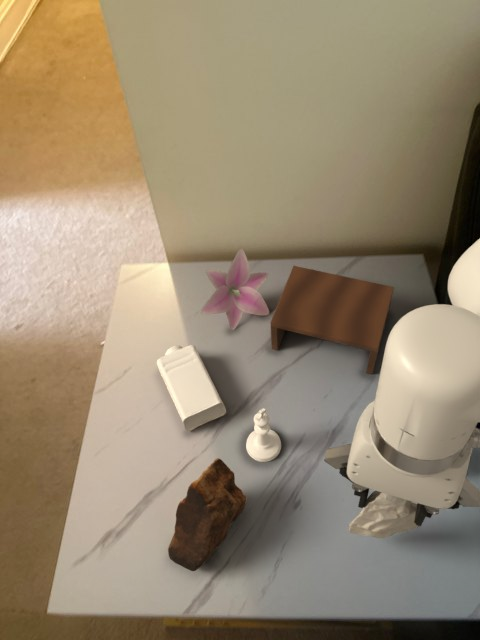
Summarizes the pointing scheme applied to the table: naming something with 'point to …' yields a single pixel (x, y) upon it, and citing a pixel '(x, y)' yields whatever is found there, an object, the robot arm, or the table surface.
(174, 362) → the white bottle
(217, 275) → the lily
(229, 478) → the decorative rock
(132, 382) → the table surface
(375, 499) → the stone tool
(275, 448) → the chess piece
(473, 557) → the table surface
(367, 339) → the shelf
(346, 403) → the table surface
